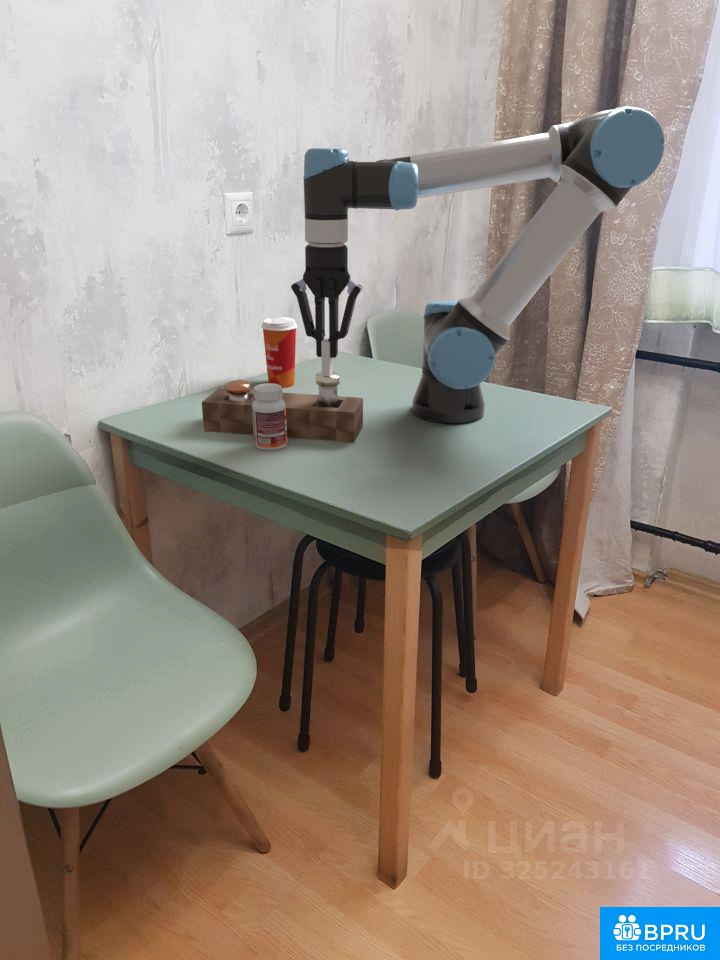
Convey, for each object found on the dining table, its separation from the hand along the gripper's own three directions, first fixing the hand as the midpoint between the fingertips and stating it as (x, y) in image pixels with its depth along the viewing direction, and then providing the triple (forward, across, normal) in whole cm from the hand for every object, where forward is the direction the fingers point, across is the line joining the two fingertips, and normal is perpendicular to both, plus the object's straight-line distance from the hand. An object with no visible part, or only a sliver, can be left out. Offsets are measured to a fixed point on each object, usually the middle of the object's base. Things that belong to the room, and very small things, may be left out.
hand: (327, 373), depth 139 cm
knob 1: (+10, +18, 0) cm, 21 cm away
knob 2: (+7, 0, 0) cm, 7 cm away
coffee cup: (+12, +18, -29) cm, 36 cm away
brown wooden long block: (+12, +9, 0) cm, 15 cm away
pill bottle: (+12, +9, +9) cm, 17 cm away
